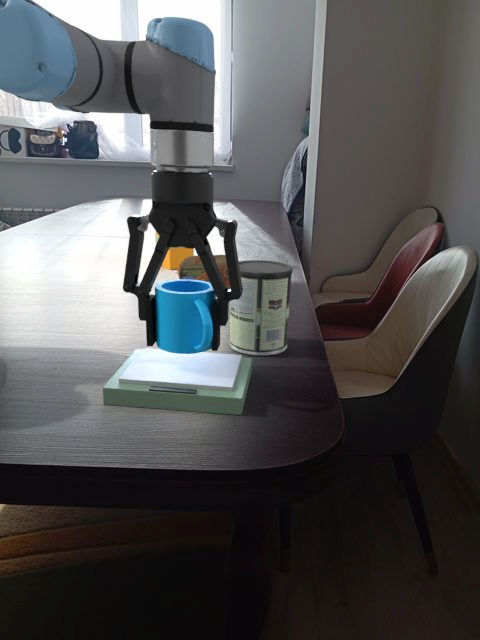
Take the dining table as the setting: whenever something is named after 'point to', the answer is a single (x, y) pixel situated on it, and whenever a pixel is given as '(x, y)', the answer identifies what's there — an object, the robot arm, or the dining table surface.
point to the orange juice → (175, 255)
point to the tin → (202, 269)
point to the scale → (181, 381)
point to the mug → (184, 315)
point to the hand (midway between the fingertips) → (184, 345)
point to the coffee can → (261, 308)
